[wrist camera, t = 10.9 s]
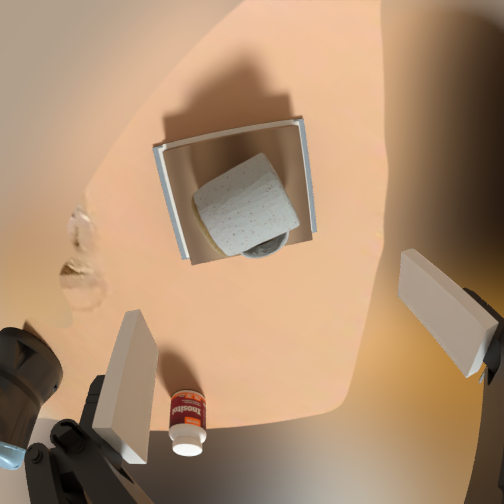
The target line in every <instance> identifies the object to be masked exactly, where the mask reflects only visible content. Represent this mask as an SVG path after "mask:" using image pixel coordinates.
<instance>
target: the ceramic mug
mask: <svg viewBox="0 0 504 504" xmlns="http://www.w3.org/2000/svg"><path fill="white" fill-rule="evenodd" d="M191 208H192V212H193V215H194V218H195V220H196V223H197V225H198V227H199V229H200V231H201V232H202V234H203V236H204V238H205V239H206V241H207V242H208V243H209V245H210V246H211V247H212V248H213V250H214V251H215V252H217V253H218V254H219V255H222V256H225V257H227V256H232V255H236V254H239V253H240V254H241V255H243V256H245V257H247V258H261V257H265V256H268V255H271V254H273V253H275V252H277V251H278V250H279V249H281V248H282V247H283V246H284V245H285V243H286V242H287V240H288V237H289V231H290V230H292V229H294V228H296V227H298V226H299V225H300V221H299V218H298V216H297V213H296V211H295V208H294V207H293V205H292V203H291V200H290V199H289V197H288V195H287V193H286V191H285V189H284V187H283V185H282V183H281V181H280V179H279V177H278V175H277V173H276V171H275V170H274V169H273V167H272V165H271V163H270V162H269V160H268V159H267V157H266V156H265V154H264V153H259V154H257V155H255V156H254V157H252V158H250V159H248V160H247V161H245V162H243V163H241V164H239V165H237V166H236V167H234V168H232V169H230V170H229V171H227V172H225V173H224V174H222V175H220V176H218V177H217V178H215V179H213V180H211V181H210V182H208V183H206V184H205V185H203V186H202V187H201V188H200V189H198V190H197V191H196V192H195V193H194V194H193V196H192V199H191ZM276 236H277V237H276ZM274 237H276V238H275V239H274V240H272V241H270V242H267V243H265V244H262V245H260V246H256V245H258V244H260V243H262V242H265V241H267V240H269V239H272V238H274ZM254 246H256V247H254Z"/></svg>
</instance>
